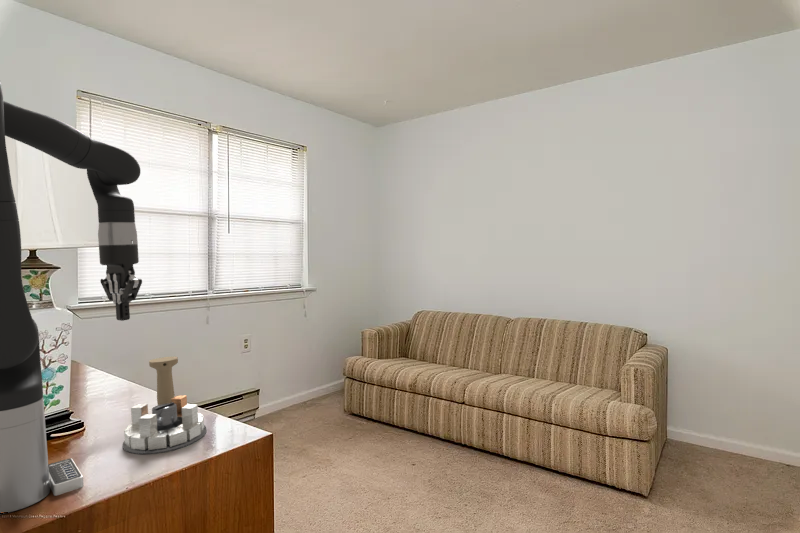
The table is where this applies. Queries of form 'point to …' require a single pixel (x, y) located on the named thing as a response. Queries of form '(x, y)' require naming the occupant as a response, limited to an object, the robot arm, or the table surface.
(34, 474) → the robot arm
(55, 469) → the multiport hub
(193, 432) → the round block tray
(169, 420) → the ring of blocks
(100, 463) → the table surface
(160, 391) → the handle
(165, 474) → the table surface
